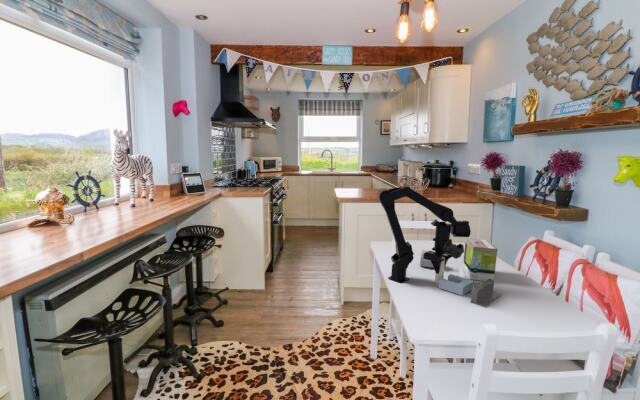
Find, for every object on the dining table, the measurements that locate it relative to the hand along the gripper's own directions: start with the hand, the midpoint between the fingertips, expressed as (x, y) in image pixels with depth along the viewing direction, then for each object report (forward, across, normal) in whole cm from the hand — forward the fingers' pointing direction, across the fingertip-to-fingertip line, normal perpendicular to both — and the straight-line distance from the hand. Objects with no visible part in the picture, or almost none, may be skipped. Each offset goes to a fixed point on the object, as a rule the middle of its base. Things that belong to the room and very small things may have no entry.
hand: (439, 272), depth 144 cm
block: (+4, -3, -9) cm, 10 cm away
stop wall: (+4, -3, -20) cm, 21 cm away
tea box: (+4, +20, -8) cm, 22 cm away
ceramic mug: (+4, +14, +12) cm, 19 cm away
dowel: (+4, 0, 0) cm, 4 cm away
